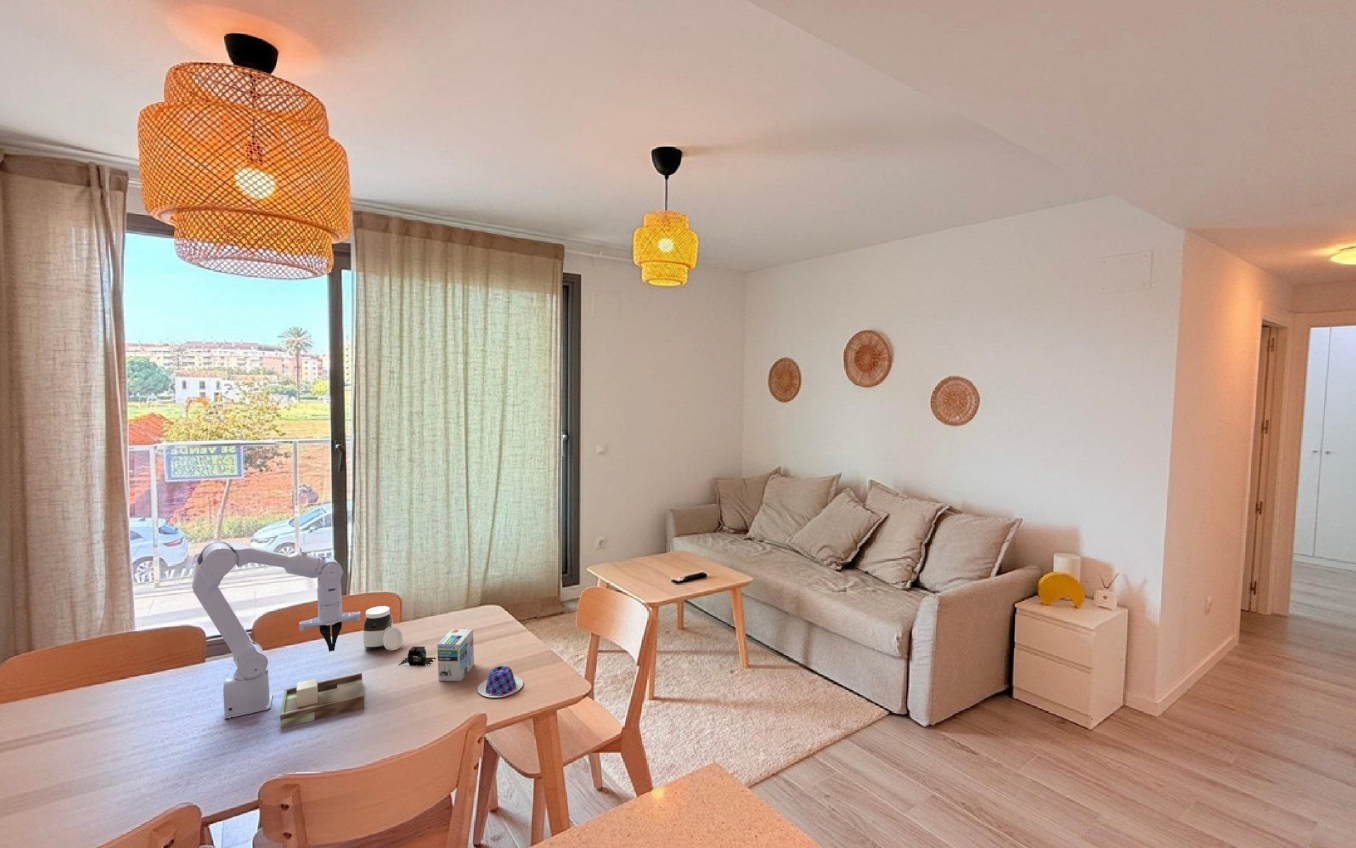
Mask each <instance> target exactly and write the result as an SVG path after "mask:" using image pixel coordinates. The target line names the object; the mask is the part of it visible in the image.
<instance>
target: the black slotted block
mask: <svg viewBox="0 0 1356 848" xmlns="http://www.w3.org/2000/svg"><path fill="white" fill-rule="evenodd" d="M425 648H426V647H425V646H420V645H419V646H411V648H410V649H409V650H408V653H407V656H406V657H407V658H406V657H405V658H404V659H405V660H404V659H403V660H402V661H401V662H399V664H397V665H398V666H404V665H406V666H407V667H410V666H411V667H412V666H413V667H429V666H428V664H430V665H431V664H432V663H433V662H434V661H433V660H432V659H435V660H436V659H437V658H435V657H436V656H432V657H431V656H429V657H428V656H427V649H425ZM433 657H434V658H433ZM430 662H432V663H430ZM409 665H410V666H409ZM416 665H417V666H416ZM406 666H405V667H406Z"/></svg>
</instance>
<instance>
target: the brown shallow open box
mask: <svg viewBox="0 0 1356 848" xmlns="http://www.w3.org/2000/svg"><path fill="white" fill-rule="evenodd" d="M317 682H318V703H314V704H309V705H305V706H301V707H297V686H293V687H290V688H285V689H284V690H283V697H282V702H281V709H280V715H279V718H280V719H279V720H280V729H284V728H288V727H292V726H295V725H299V724H304V723H308V722H312V721H315V720H321V719H323V718H328V717H332V716H337V715H341V714H345V713H349V712H353V711H357V710H361V709H365V694H364V685H363V673H362V672H360V673H354V674H351V675H345V676H341V677H335V678H332V679H327V680H323V681H322V680H321V681H317Z"/></svg>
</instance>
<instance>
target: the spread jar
mask: <svg viewBox="0 0 1356 848" xmlns="http://www.w3.org/2000/svg"><path fill="white" fill-rule="evenodd" d="M390 610H391V608H390V606H386V605H382V606H379V605H378V606H375V607H371V608H369V609H367V610H366V611H365V620H364V622H363V626H362V627H363V630H362V631H363V632H362V633H363V638H362V639H363V647H364V649H366V650H369V651H381V650H384V649H386V650H388V651H391V652H392V651H395V650H396V651H397V650H398V649H399V648H400V647H401V646H402V644H403V640H404V639H403V633H402V631H401V630H400V628H398V627H394V618H393V615H392V614H391V613H390V612H391V611H390Z"/></svg>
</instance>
